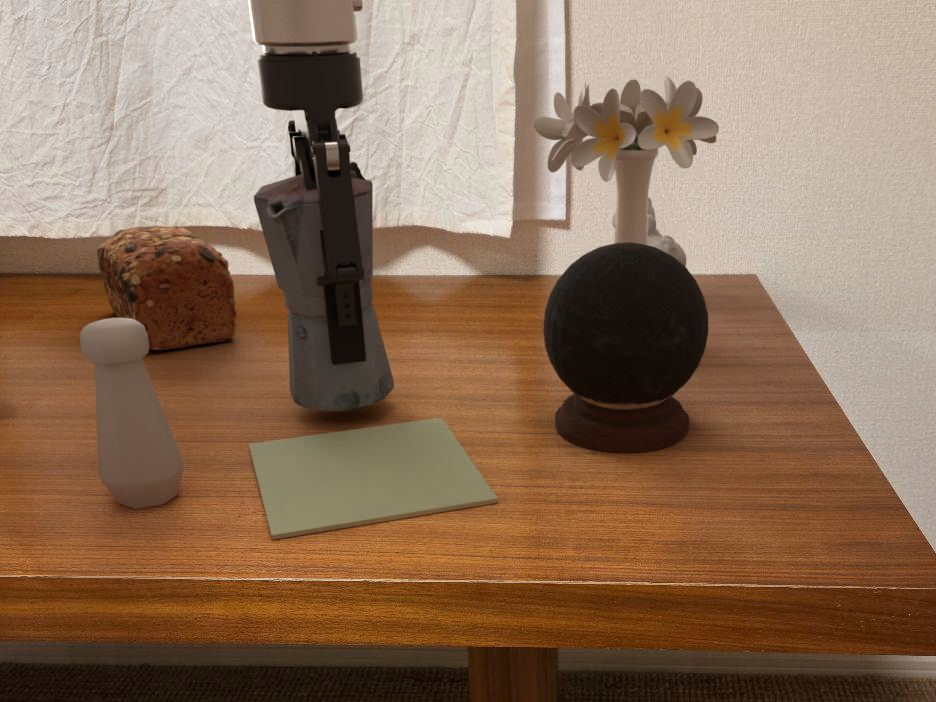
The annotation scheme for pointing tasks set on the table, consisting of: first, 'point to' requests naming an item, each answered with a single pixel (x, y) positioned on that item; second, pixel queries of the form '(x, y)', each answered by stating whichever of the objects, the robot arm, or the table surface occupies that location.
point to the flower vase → (628, 141)
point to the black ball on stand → (625, 347)
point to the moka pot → (321, 297)
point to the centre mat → (365, 477)
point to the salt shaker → (130, 417)
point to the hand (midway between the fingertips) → (338, 343)
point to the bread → (169, 285)
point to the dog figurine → (660, 237)
